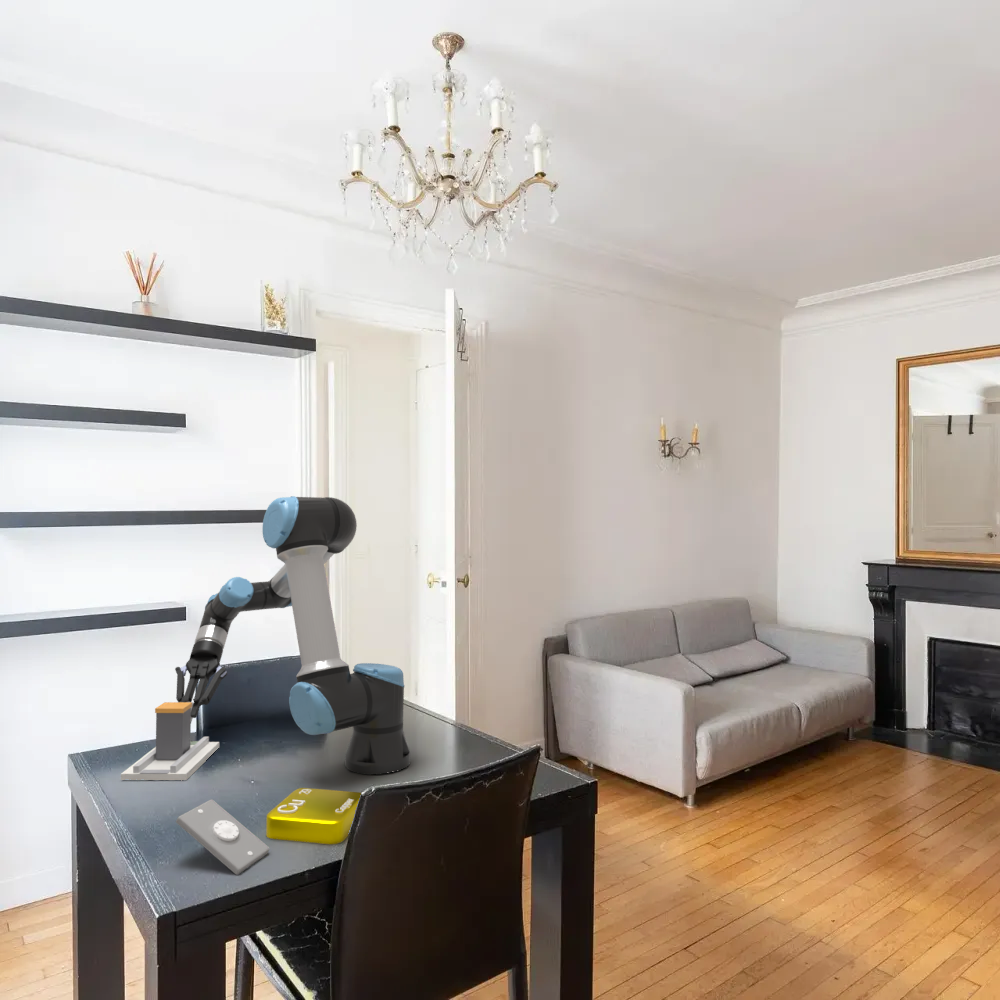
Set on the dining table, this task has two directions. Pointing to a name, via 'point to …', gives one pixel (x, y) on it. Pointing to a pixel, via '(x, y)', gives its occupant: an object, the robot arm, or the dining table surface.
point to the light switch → (223, 836)
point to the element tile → (313, 816)
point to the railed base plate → (171, 763)
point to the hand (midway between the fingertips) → (184, 729)
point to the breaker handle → (173, 730)
